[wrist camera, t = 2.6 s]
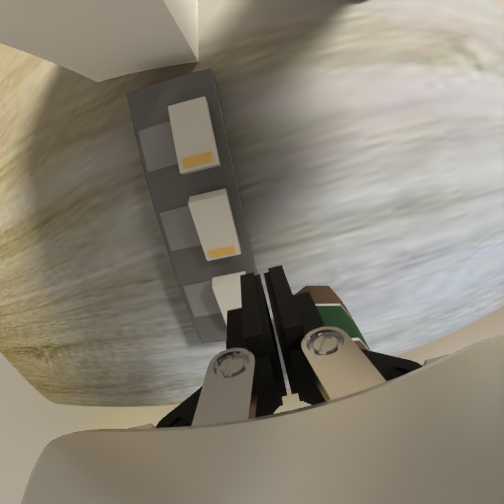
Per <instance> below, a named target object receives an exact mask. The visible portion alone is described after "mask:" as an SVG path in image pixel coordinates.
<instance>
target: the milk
mask: <svg viewBox="0 0 504 504" xmlns="http://www.w3.org/2000/svg"><path fill="white" fill-rule="evenodd" d="M0 43H2V44H5V45H8V46H10V47H13V48H16V49H19V50H22V51H24V52H27V53H30V54H32V55H35V56H38V57H40V58H43V59H45V60H48V61H50V62H53V63H55V64H57V65H60V66H62V67H65V68H67V69H69V70H72V71H74V72H76V73H78V74H81V75H83V76H85V77H87V78H89V79H92V80H94V81H96V82H101V81H105V80H108V79H112V78H116V77H119V76H123V75H127V74H132V73H136V72H141V71H145V70H150V69H155V68H161V67H167V66H173V65H179V64H186V63H194V62H199V60H198V0H0Z"/></svg>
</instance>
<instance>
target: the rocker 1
mask: <svg viewBox="0 0 504 504" xmlns="http://www.w3.org/2000/svg"><path fill="white" fill-rule="evenodd" d="M168 111H169V116H170V122H171V128H172V133H173V139H174V144H175V150H176V155H177V160H178V165H179V170H180V173H181V174H188V173H192V172H196V171H200V170H204V169H208V168H212V167H217V166H221V165H220V161H219V156H218V151H217V146H216V141H215V137H214V132H213V127H212V122H211V117H210V112H209V107H208V102H207V100H206V97H205V96H204V97H200V98H196V99H192V100H189V101H185V102H181V103H178V104H174V105H171V106H168Z"/></svg>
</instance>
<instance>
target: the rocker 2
mask: <svg viewBox="0 0 504 504" xmlns="http://www.w3.org/2000/svg"><path fill="white" fill-rule="evenodd" d="M243 274H246V272H245V271H243V272H238V273H233V274H228V275H223V276H218V277H213V278H212V289H213V291H214V294H215V297H216V299H217V302H218V305H219V307H220V310H221V312H222V315H223V318H224V320H225V323H226V325H227V311H228V310H232V309H237V308H241V307H242V304H241V285H240V275H243Z"/></svg>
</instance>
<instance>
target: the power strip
mask: <svg viewBox="0 0 504 504" xmlns="http://www.w3.org/2000/svg"><path fill="white" fill-rule="evenodd" d="M204 96H205V97H206V100H207V102H208V107H209V112H210V117H211V122H212V127H213V132H214V137H215V141H216V146H217V151H218V156H219V161H220V165H221V166H217V167H212V168H208V169H204V170H200V171H196V172H192V173H188V174H181V173H180V170H179V165H178V160H177V155H176V150H175V144H174V139H173V133H172V128H171V122H170V116H169V111H168V106H171V105H174V104H178V103H181V102H185V101H189V100H192V99H196V98H200V97H204ZM127 97H128V102H129V107H130V112H131V117H132V121H133V126H134V130H135V135H136V139H137V143H138V148H139V152H140V156H141V160H142V164H143V168H144V172H145V175H146V179H147V183H148V187H149V190H150V194H151V197H152V201H153V204H154V208H155V211H156V215H157V218H158V221H159V224H160V228H161V231H162V234H163V237H164V240H165V244H166V247H167V250H168V253H169V256H170V259H171V262H172V265H173V268H174V271H175V274H176V276H177V279H178V282H179V285H180V288H181V290H182V293H183V296H184V299H185V301H186V304H187V307H188V309H189V312H190V315H191V317H192V320H193V323H194V325H195V328H196V330H197V333H198V335H199V338H200V340H201V343H208V342H214V341H221V340H226V338H227V325H226V323H225V320H224V318H223V315H222V312H221V310H220V307H219V305H218V302H217V299H216V297H215V294H214V291H213V289H212V278H213V277H218V276H223V275H228V274H233V273H238V272H243V271H245V272H246V274H248V273H252V272H254V275H257V270H256V265H255V261H254V256H253V252H252V247H251V243H250V238H249V234H248V229H247V224H246V220H245V215H244V211H243V206H242V202H241V197H240V193H239V188H238V183H237V179H236V174H235V170H234V165H233V161H232V156H231V152H230V147H229V142H228V138H227V133H226V129H225V124H224V120H223V115H222V111H221V106H220V101H219V97H218V92H217V88H216V83H215V79H214V75H213V73H212V70H211V68H210V69H206V70H202V71H198V72H194V73H190V74H186V75H183V76H179V77H176V78H172V79H169V80H166V81H163V82H159V83H156V84H153V85H150V86H147V87H144V88H142V89H139V90H136V91H133V92H131V93H128V94H127ZM225 188H226V191H227V195H228V199H229V203H230V207H231V211H232V215H233V219H234V223H235V227H236V231H237V235H238V239H239V243H240V249H241V254H239V255H234V256H229V257H224V258H220V259H215V260H210V261H207V259H206V256H205V254H204V251H203V248H202V245H201V242H200V239H199V236H198V233H197V230H196V227H195V224H194V221H193V218H192V215H191V211H190V208H189V205H188V201H189V197H191V196H195V195H199V194H203V193H207V192H212V191H216V190H220V189H225Z"/></svg>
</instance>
